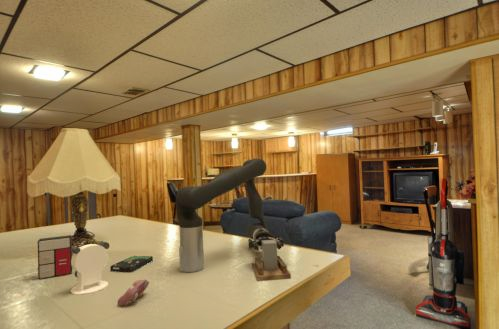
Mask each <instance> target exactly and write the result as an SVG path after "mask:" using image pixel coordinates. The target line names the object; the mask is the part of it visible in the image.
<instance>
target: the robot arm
mask: <svg viewBox="0 0 499 329" xmlns="http://www.w3.org/2000/svg"><path fill="white" fill-rule="evenodd" d="M266 171H267V163H266V161H265V160H264V159H262V158H259V157H258V158H257V157H256V158H252V159H248V160H245V161H244V162H243V164H242V165H241V166H237V167H233V168H230V169H227V170H224V171H222V172H220V173H218V174H217V175H215V176H214V177H213V179H212V180H211V181H209V182H207V183H205V184H202V185H201V184H200V185H197V186H187V185H186V186H182V187H180V188H179V189H178V190H177V192H176V196H175V208H176V218H177V221H178V223H179V224H178V225H179V248H178V251H179V252H178V253H179V272H184V273H194V272H195V273H196V272H199V271H202V270H203V269H205V261H204V258H205V257H204V233H203V232H204V230H203V226H204V225H203V218H202V217H201V216H200V215H199V214H198V213H197V210H199V209H201V208H202V207H204V206H206V205H207V204H209V202H211V201H213V200H215V199H216V198H218V197H220V196H222V195H224V194H227V193H229V192H230V191H232V190H235V189H236V188H237V187H238V188H239V187H240V186H242V185H243V184H244V185H245V189H246V193H247V199H248V212H249V218H251V219H253V220H254V219H255V220H258V221H259V222H258V223H257V222H255V223H249V224H248V225H247V227H246V235H247V236H248V237H249V238H248V240H247V245H248V249H254V250H255V251H256V252H258V251H259V249H261V250H262V241H263V240H275V241H276V243H277V250H281V249H282V248H283V247H284V246H285V244H284V241H285V240H284V239H283V238H282V237H280V236H278V237H277V238H273V236H272V235H271V233H270V232H269V228H268V225H267V223H266V220H265V215H264V206H263V204H264V203H263V199H262V197H261V194H260V193H259V191H258V190H257V189H258V188H257V186H256V183H255V178H257V177H258V178H259V177H261V176H264V174H265V173H266Z"/></svg>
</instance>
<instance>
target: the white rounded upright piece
mask: <svg viewBox="0 0 499 329" xmlns="http://www.w3.org/2000/svg"><path fill="white" fill-rule="evenodd" d="M109 248H110V243H109V242H107V241H104V240H101V241H99V243H98V244H96V243H89V244H85V245H82V246H79V247H78V246H72V248H71V250H70V252H72V259H71V265H72V270H74V271H75V272H74V277H76V279H77V280H76V281H77V283H76V285H75V286H74V287H72V288H71V290H70V293H71V294H72V295H77V296H84V295H89V294H93V293H97V292H100V291H103V290H104V289H106V288H107V287H108V286H109V282H108V281H107V280H102V276H103V269H104V268H105V266H107V264H108V263H109V259H110V256H109V252H108V249H109Z"/></svg>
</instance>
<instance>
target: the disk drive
mask: <svg viewBox="0 0 499 329" xmlns="http://www.w3.org/2000/svg"><path fill="white" fill-rule="evenodd" d="M153 257H154V256H152V255H132V256H130V257H128V258H124V259H123V260H121V261H118V262H116V263H114V264H112V265H110V272H115V271H116V273H117V272H118V273H134V272H135V271H137V270H139V269H141V268H142V266H143V267H144V265H145V266H147V265H148V264H147V263H149V262H150V263H152V262H154V258H153ZM151 261H152V262H151ZM150 263H149V264H150ZM146 264H147V265H146Z"/></svg>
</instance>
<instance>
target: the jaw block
mask: <svg viewBox="0 0 499 329" xmlns="http://www.w3.org/2000/svg"><path fill="white" fill-rule="evenodd" d="M261 256H262V257H261V261H262V262H261V263H262V265H263V269H264V271H271V270H278V261H277V256H278V248H277V243H276V241H275V240H263V241H262V249H261Z"/></svg>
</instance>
